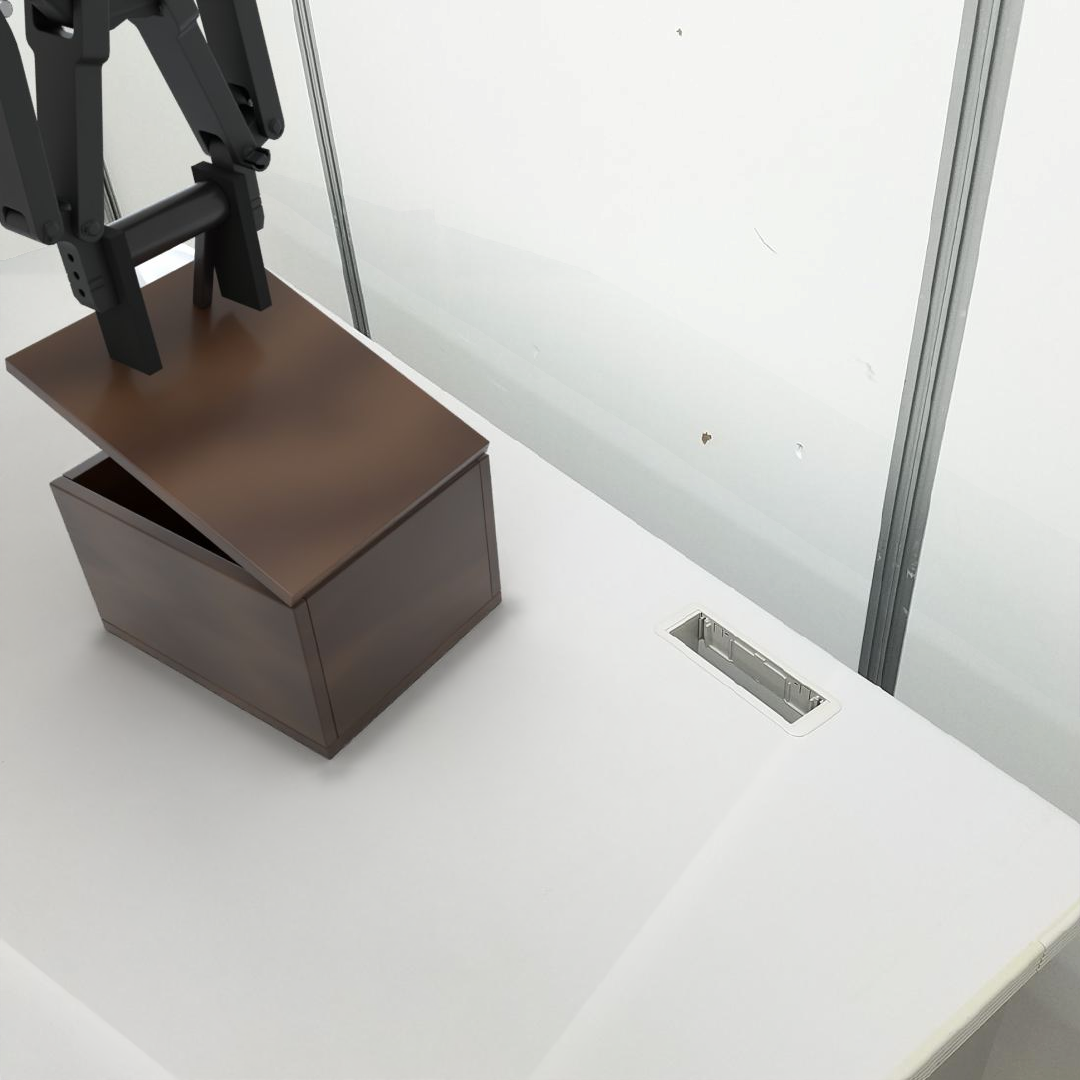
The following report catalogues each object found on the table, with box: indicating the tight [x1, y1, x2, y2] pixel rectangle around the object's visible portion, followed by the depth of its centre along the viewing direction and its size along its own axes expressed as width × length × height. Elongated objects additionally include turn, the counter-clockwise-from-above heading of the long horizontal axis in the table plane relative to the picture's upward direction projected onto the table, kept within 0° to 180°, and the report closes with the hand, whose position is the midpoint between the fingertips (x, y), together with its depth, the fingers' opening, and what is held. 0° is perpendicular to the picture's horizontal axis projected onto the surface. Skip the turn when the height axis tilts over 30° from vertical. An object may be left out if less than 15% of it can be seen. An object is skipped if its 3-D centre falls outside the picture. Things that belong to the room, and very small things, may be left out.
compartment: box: [48, 450, 503, 760], centre depth 64 cm, size 17×14×10 cm
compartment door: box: [4, 179, 491, 607], centre depth 56 cm, size 18×14×8 cm
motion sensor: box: [135, 243, 195, 288], centre depth 87 cm, size 8×8×8 cm
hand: (193, 330), depth 58 cm, fingers closed on compartment door, 6 cm apart
